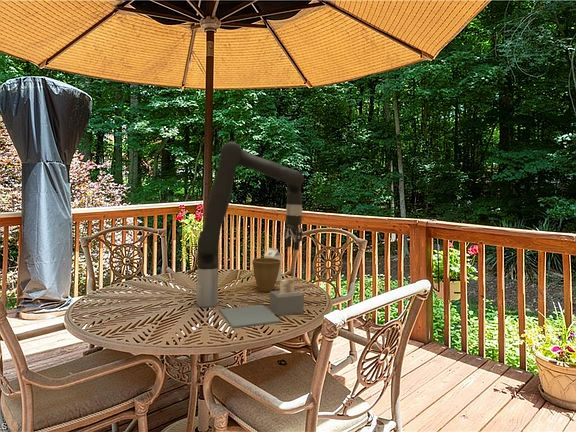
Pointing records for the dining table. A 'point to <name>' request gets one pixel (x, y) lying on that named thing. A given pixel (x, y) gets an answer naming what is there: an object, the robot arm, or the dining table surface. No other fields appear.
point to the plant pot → (266, 273)
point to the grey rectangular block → (286, 302)
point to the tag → (286, 286)
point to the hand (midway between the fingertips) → (292, 248)
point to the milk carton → (276, 255)
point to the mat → (249, 316)
